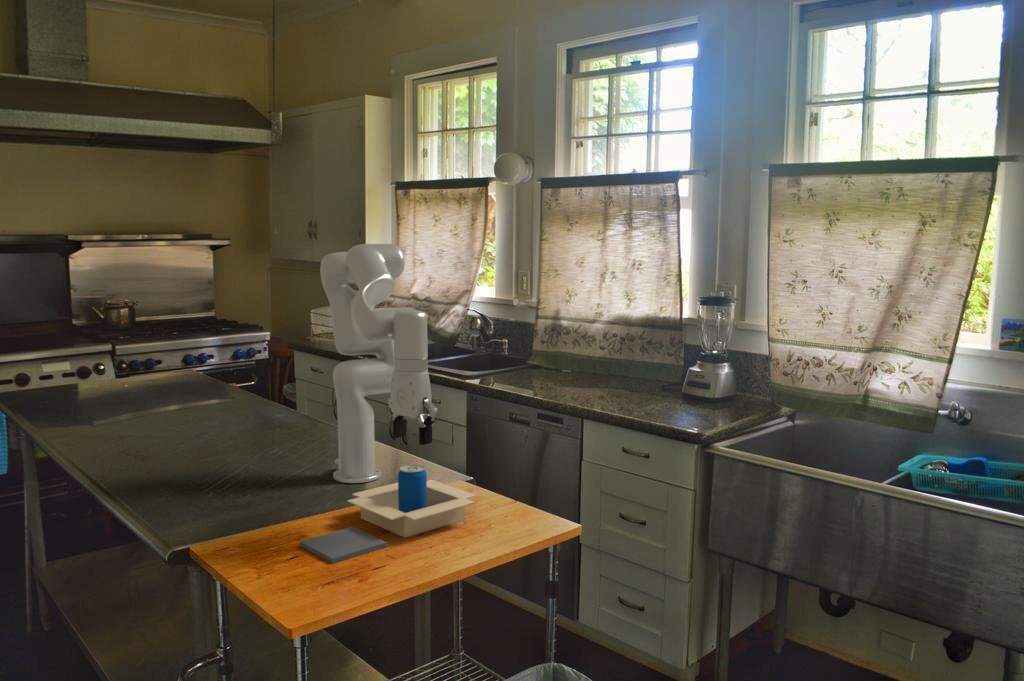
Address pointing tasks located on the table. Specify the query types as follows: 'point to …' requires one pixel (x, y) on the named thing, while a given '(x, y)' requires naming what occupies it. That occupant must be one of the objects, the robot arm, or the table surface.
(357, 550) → the mat
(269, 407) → the table surface
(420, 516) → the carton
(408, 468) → the beverage can
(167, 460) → the table surface
